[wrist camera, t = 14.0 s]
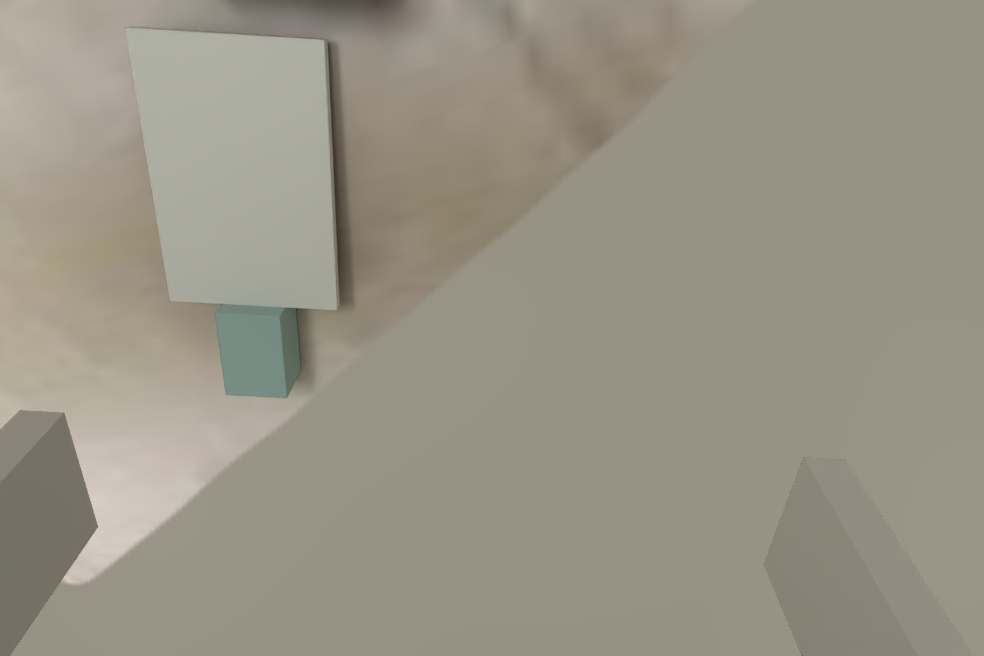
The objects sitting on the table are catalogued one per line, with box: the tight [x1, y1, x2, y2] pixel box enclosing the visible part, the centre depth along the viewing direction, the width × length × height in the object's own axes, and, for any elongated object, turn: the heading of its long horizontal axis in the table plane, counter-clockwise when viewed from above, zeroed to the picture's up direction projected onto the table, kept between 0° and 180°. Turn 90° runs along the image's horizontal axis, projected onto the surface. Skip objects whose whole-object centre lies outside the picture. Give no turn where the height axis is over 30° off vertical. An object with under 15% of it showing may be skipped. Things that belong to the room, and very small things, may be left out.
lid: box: [125, 27, 340, 398], centre depth 42 cm, size 22×11×4 cm, turn 177°
